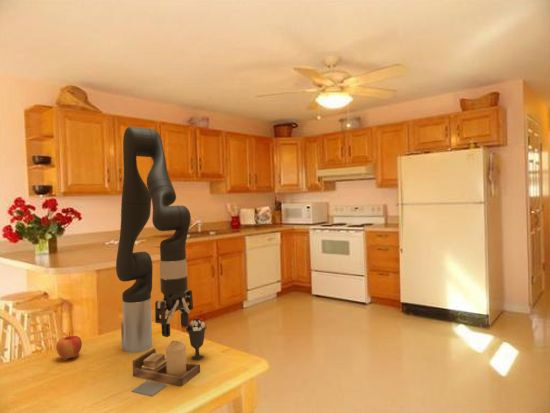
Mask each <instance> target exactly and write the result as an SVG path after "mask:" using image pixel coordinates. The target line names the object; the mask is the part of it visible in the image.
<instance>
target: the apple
mask: <svg viewBox="0 0 550 413" xmlns="http://www.w3.org/2000/svg"><path fill="white" fill-rule="evenodd" d="M68 333H69V335H68V336H65V337H61V338H60V339H59V340H57V342H56V346H55V348H56V352H57V354H58V356H59V357H60V358H61V359H63V360H65V361H66V360H68V359H71V358H72V359H73V358H74V359H75V358H76V357H77V356H78V355H79V353H80V352H81V349H82V346H83V344H82V343H83V342H82V339H81V337H79V336H78V335H71V332H68Z"/></svg>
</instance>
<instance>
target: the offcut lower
mask: <svg viewBox="0 0 550 413" xmlns="http://www.w3.org/2000/svg"><path fill="white" fill-rule="evenodd" d="M164 365H166V360H164V361H163V362H162V363H160V364H159V365H158V366H157V367H156V368H153V367H144V365H143V366H142V367H141V369H144V370H148V371H153V372H155V371H156V370H158V369H159V368H161V367H163V366H164Z"/></svg>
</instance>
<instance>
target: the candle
mask: <svg viewBox="0 0 550 413" xmlns="http://www.w3.org/2000/svg"><path fill="white" fill-rule="evenodd" d="M186 348H187V347H186V344H185V343H184V342H182V341H178V340H171V341H170V342H169V343H168V344H167V345H166V347H165V359H166V368H167V374H168V375H173V376H178V377H181V376H183V375H184V374H185V373H186V362H187V349H186Z"/></svg>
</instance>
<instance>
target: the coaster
mask: <svg viewBox="0 0 550 413" xmlns="http://www.w3.org/2000/svg"><path fill="white" fill-rule="evenodd" d="M167 386H168V384H167V383H162V382H157V381H153V380H146V381H144V382H142V383H141V384H140V385H138V386H137V387H135V388H134V389H132V390H131V391H130V392H131V393H136V394H138V395H139V394H140V395H144V396H148V397H154V396H156V395H157V394H158V393H159V392H161V391H163V389H165V388H166V387H167Z"/></svg>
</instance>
